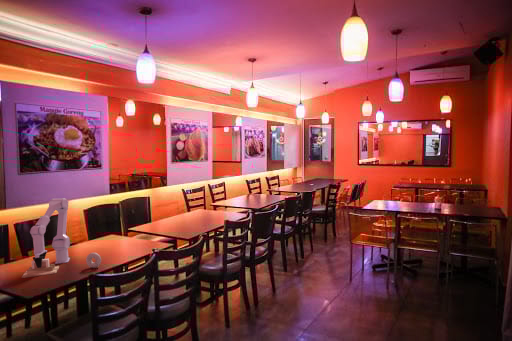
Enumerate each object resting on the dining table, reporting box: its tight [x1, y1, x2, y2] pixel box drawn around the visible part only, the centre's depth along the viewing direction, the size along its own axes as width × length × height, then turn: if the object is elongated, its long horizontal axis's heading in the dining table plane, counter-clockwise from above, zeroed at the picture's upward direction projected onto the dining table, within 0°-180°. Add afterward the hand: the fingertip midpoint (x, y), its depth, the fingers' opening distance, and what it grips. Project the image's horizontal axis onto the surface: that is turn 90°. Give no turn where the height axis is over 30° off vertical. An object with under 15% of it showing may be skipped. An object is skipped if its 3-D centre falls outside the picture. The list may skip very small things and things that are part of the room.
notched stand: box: [21, 263, 60, 279], centre depth 216 cm, size 12×18×4 cm, turn 111°
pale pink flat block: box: [31, 258, 50, 269], centre depth 216 cm, size 2×9×7 cm, turn 110°
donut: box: [85, 252, 102, 269], centre depth 221 cm, size 10×3×10 cm, turn 83°
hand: (40, 265), depth 216 cm, fingers open, 7 cm apart
